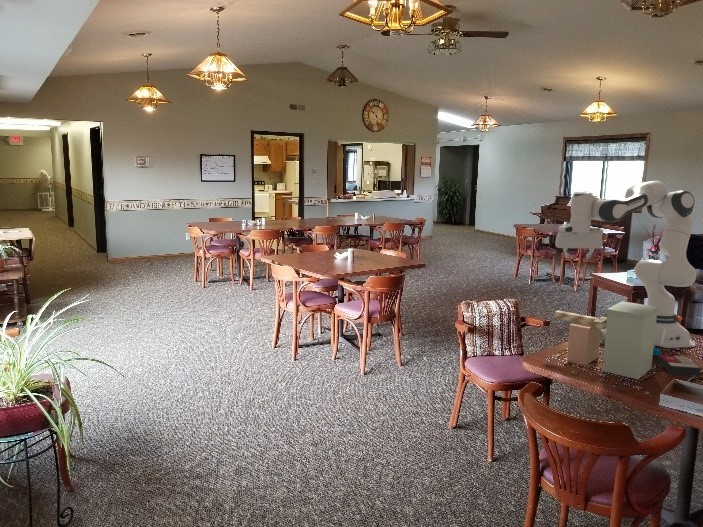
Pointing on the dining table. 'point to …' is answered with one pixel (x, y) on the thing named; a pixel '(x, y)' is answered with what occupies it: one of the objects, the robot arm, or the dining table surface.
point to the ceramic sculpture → (602, 336)
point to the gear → (656, 351)
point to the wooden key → (582, 319)
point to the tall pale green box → (629, 339)
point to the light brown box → (583, 343)
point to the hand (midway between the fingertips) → (577, 257)
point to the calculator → (679, 365)
